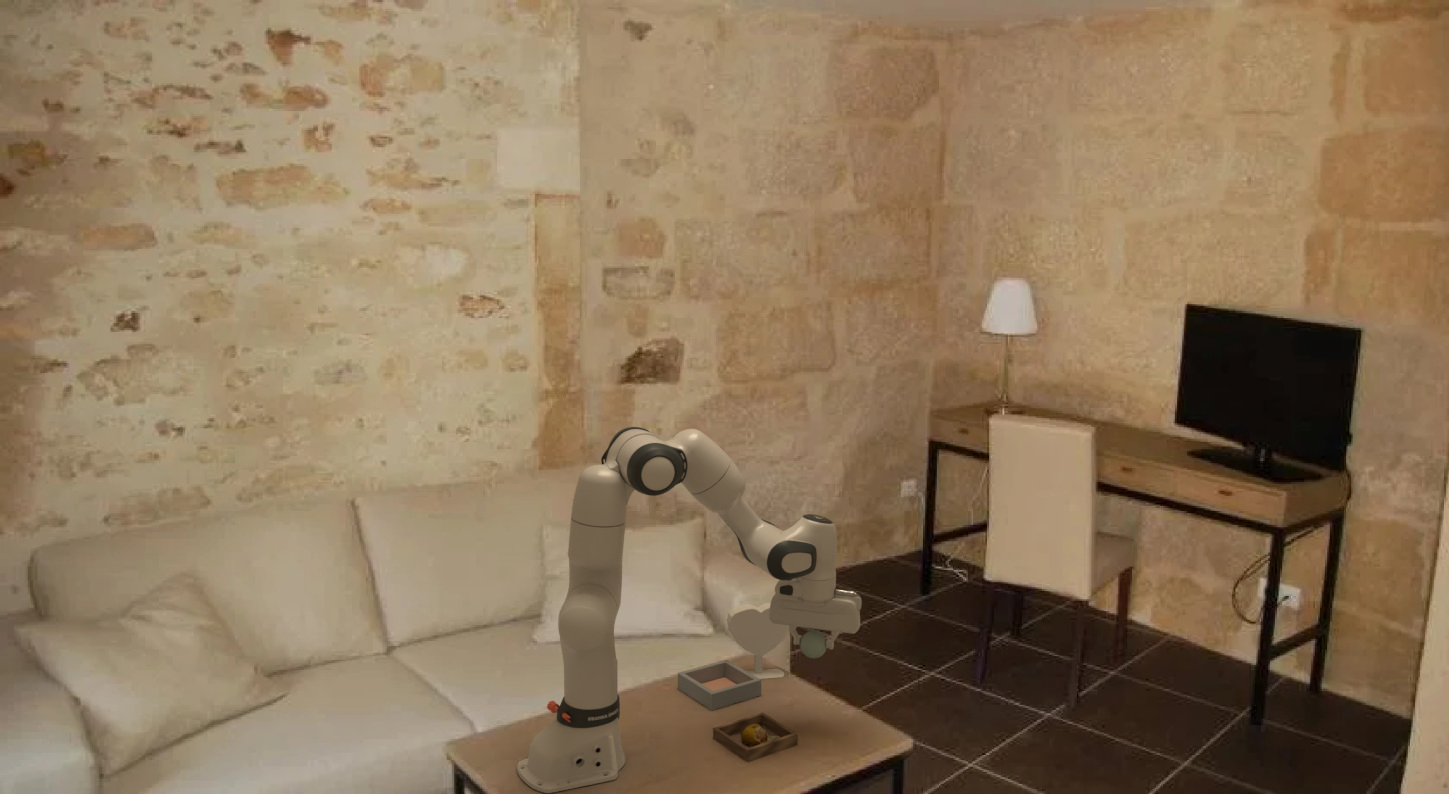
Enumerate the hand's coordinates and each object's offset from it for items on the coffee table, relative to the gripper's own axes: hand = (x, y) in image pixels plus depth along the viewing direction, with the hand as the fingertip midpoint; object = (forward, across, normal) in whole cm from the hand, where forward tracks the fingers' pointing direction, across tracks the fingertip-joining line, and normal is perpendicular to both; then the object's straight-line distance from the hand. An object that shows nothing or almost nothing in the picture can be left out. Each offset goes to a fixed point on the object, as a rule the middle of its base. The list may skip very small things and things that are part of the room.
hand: (813, 646), depth 251 cm
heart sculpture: (+19, +18, -23) cm, 35 cm away
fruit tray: (+19, +10, +12) cm, 24 cm away
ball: (0, 0, 0) cm, 0 cm away
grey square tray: (+19, +25, -10) cm, 33 cm away
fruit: (+19, +8, +12) cm, 24 cm away
